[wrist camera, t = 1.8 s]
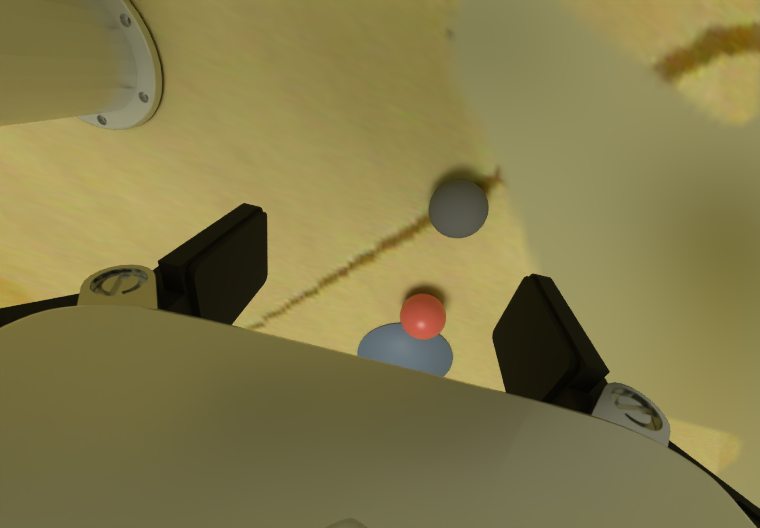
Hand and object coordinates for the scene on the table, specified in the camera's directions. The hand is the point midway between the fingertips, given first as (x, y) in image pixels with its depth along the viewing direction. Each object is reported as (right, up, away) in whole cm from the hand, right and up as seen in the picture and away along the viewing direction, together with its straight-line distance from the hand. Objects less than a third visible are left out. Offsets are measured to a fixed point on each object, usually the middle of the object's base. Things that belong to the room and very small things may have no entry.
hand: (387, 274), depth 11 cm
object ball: (+5, -6, +25) cm, 26 cm away
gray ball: (+7, +6, +18) cm, 20 cm away
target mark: (+3, -13, +34) cm, 36 cm away
